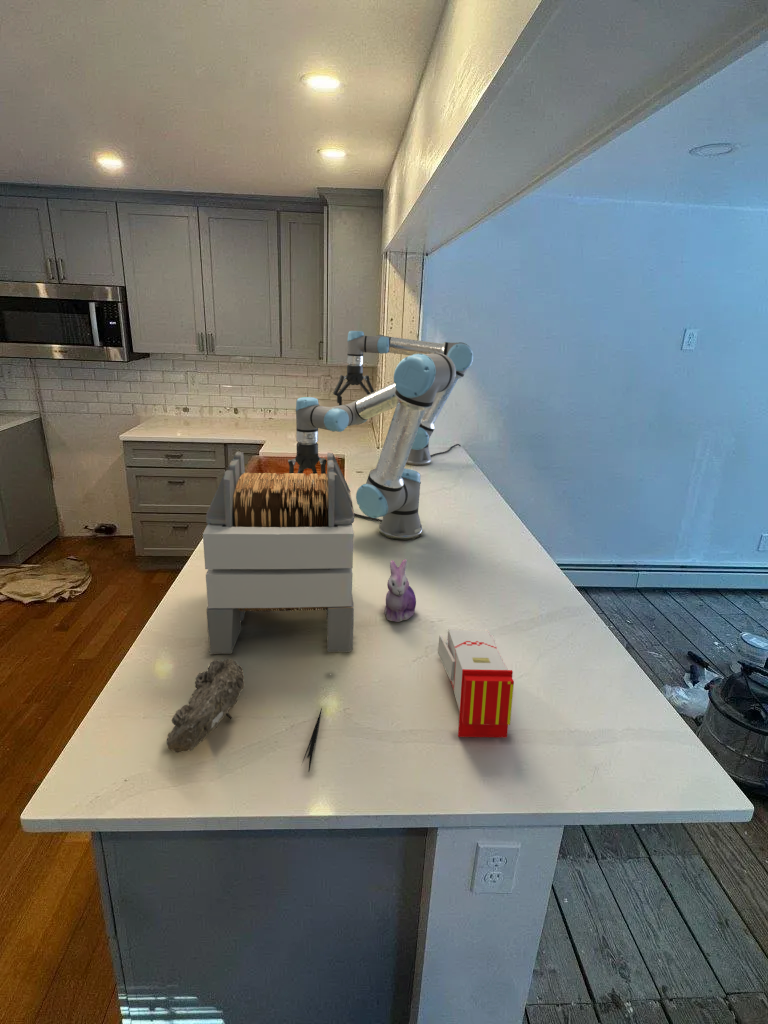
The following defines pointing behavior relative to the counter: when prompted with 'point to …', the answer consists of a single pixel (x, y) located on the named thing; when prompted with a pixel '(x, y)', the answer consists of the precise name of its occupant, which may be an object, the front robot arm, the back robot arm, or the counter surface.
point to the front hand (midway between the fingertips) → (307, 505)
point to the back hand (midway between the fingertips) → (353, 409)
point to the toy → (478, 682)
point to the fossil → (206, 705)
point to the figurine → (399, 594)
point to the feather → (313, 740)
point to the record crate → (279, 550)
